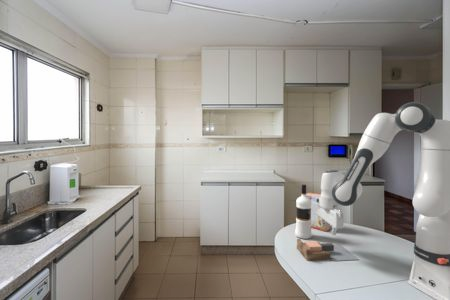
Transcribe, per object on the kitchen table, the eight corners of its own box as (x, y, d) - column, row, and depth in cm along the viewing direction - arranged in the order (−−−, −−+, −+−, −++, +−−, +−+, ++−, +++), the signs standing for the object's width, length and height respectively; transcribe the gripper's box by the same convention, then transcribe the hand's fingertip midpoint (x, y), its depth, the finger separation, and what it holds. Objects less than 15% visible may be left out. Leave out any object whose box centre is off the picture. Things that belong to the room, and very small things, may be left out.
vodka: (293, 232, 150) (294, 182, 149) (310, 233, 149) (310, 183, 147) (296, 239, 141) (296, 186, 139) (313, 240, 140) (314, 186, 138)
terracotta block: (335, 255, 122) (335, 245, 122) (309, 257, 121) (309, 247, 121) (329, 250, 128) (329, 240, 128) (304, 251, 127) (304, 241, 126)
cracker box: (330, 229, 156) (331, 195, 154) (326, 231, 151) (326, 197, 150) (309, 223, 166) (309, 192, 164) (304, 225, 161) (305, 193, 160)
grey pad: (359, 259, 118) (359, 259, 118) (334, 261, 117) (334, 260, 117) (340, 244, 134) (340, 244, 134) (318, 245, 133) (318, 245, 133)
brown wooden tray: (330, 259, 119) (330, 248, 118) (306, 260, 118) (306, 250, 117) (318, 247, 131) (318, 238, 130) (297, 248, 129) (297, 239, 129)
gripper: (348, 209, 113) (346, 239, 114) (325, 197, 134) (324, 222, 135) (334, 210, 113) (333, 239, 114) (314, 197, 133) (313, 223, 134)
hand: (328, 230), depth 124 cm, fingers open, 8 cm apart
